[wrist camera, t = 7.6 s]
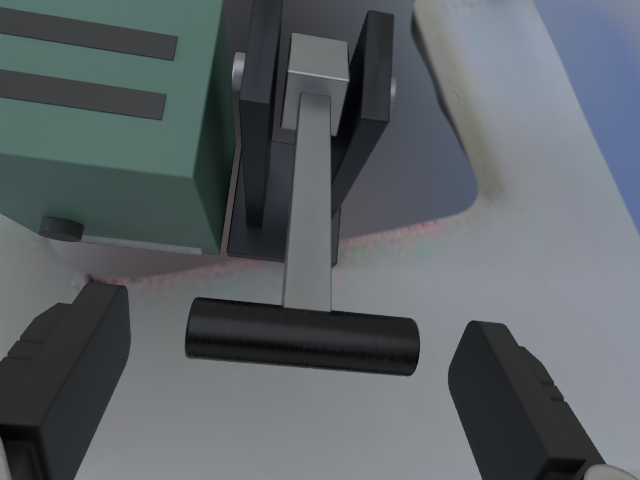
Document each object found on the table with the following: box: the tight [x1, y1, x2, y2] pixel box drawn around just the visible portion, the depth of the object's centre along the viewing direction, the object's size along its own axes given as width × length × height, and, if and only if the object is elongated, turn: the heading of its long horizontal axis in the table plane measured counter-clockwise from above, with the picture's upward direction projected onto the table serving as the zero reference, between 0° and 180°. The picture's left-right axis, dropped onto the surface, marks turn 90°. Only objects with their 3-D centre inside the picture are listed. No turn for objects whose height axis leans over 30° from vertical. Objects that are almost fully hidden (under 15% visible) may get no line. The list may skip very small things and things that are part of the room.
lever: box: [185, 33, 420, 377], centre depth 14 cm, size 13×5×2 cm, turn 176°
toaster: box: [0, 0, 236, 256], centre depth 23 cm, size 9×11×13 cm
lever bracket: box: [227, 0, 396, 268], centre depth 23 cm, size 8×7×16 cm
